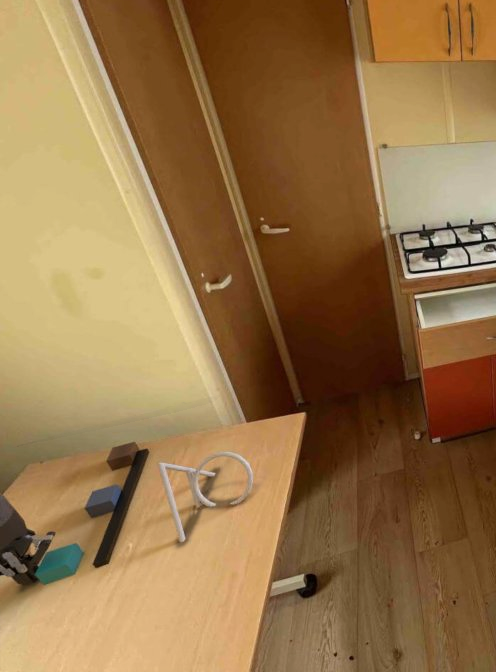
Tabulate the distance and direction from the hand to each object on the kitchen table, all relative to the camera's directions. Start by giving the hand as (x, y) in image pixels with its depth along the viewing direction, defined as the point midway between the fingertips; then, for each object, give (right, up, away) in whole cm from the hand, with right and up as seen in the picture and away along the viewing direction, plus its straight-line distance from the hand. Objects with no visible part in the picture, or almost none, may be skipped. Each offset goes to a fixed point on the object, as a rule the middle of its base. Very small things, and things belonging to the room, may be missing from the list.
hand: (31, 579), depth 80 cm
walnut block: (-4, +12, +25) cm, 28 cm away
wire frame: (+25, +6, +15) cm, 30 cm away
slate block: (+1, +6, +14) cm, 15 cm away
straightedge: (+5, +6, +15) cm, 17 cm away
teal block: (+4, 0, +2) cm, 5 cm away
